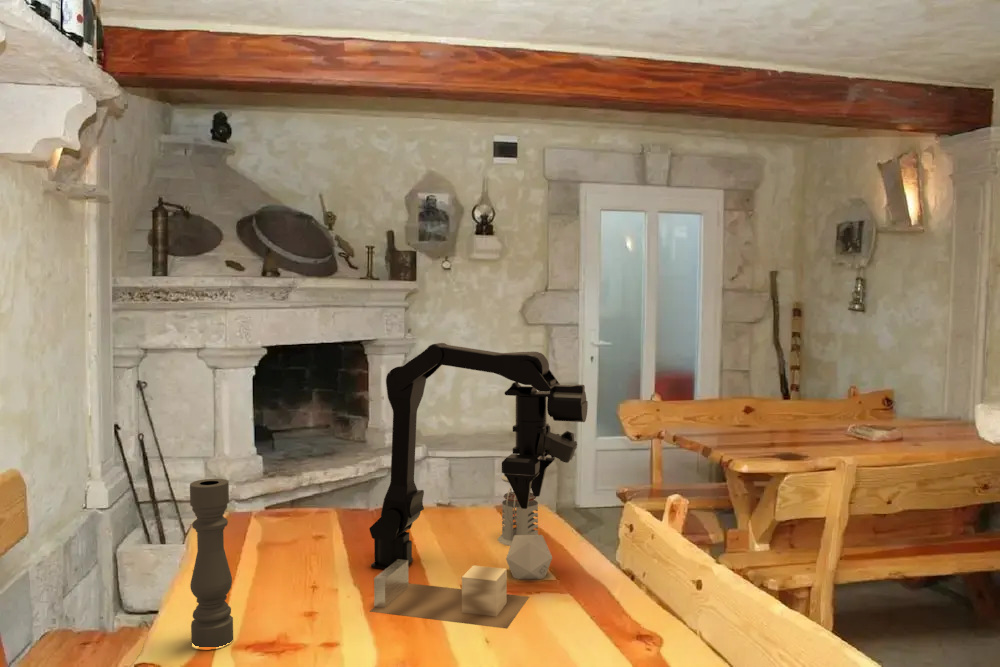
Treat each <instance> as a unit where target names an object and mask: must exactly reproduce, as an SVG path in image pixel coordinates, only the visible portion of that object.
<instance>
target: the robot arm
mask: <svg viewBox="0 0 1000 667" xmlns="http://www.w3.org/2000/svg"><path fill="white" fill-rule="evenodd" d="M441 366H447V367H453V368H459V369H460V368H461V369H466V370H473V371H479V372H484V373H491V374H496V375H499V376H501V377H503V378H505V379H507V380H510V381H512V383H511V385H510V387H509V388H508V389H507V390H505V391H504V395H505V396H512V397H513V396H514V397H515V424H514V425H513V426H512V432H515V446H514V447H513V448H512V453H511V454H510V455H508V456H507V457H505V459H504V460H502V462H501V474H503V475H505V477H507V479H508V481H509V485H510V486H511V487H510V488H511V490H513V491H512V492H514V493H515V495H516V498H517V500H518V502H519V504H520V506H521V508H522V509H527V508H528V502H529V496H530V492H531V493H533V495H534V496H536V498H537V497H540V495H541V492H542V488H543V483H544V479H545V475H546V471H547V468H548V467H549V466H550V465H551V464H552V463H553V462H554V461H555V460H556V459H558V460H560V462H562V463H566V464H567V463H570V461H572V459H573V458H574V454H575V451H576V449H577V447H578V441H575V436H574V434H575V433H573V432H572V431H569V430H566V431H565V432H562V434H561V435H560V434H559V433H553V432H551V426H550V424H549V423H547V414H548V416H549V417H550V418H552V419H553V421H556V422H572V423H573V422H575V423H585V422H586V420H587V417H588V407H589V406H588V405H589V403H588V400H587V395H586V391H585V389H586V388H585V387H586V386H585V384H575V385H570V384H569V385H567V384H560V382H559V381H558V379H557V378H556V377H555V375H554V373H553V372H552V371H551V370H550V364H549V361H548V359H547V357H546V356H545V355H544V354H543V353H541V352H539V351H515V352H514V351H512V352H495V351H490V350H484V349H483V350H482V349H477V348H469V347H466V346H465V347H463V346H458V345H451V344H447V343H445V342H438V343H433V344H430V345H428V347H426V349H425V350H423V351H422V352H421V353H420V354H418V355H417V356H414V358H412V359H411V360H409V361H407V362H406V363H405V364H403V365H400V366H396V367H394V368H391V370H390V371H389V372H388V373H387V375H386V378H385V385H386V387H385V388H386V392H387V399H388V402H389V404H390V407H391V410H392V430H391V431H392V432H391V433H392V434H391V437H392V438H391V459H390V460H391V461H390V464H391V466H390V481H389V482H390V483H389V486H388V488H387V491H386V493H385V495H384V498H383V504H382V507H381V512H380V517H379V519H377V520H376V521H375V522H373V524H372V525H371V526H370V527H369V532H370V536H371V538H372V539H373V540H374V543H373V544H374V562H372V563H371V564H370V568H375V569H384V570H385V569H386V568H387V567H389V566H390V565H391V564H393V563H394V562H395V561H396V560H398V559H401V560H408V565H410V564H411V562H413V560H414V558H413V551H412V550H413V542H412V540H411V539H410V532H409V531H408V530H410V529H412V527H413V523H414V522H415V521H417V520H418V518H419V517H420V515H421V512H422V511H423V510H424V509H425V507H424V505H423V500H424V495H425V492H424V491H425V490H424V489H420V490H419V489H418V488H417V485H416V483H415V466H416V465H415V463H416V445H417V444H416V442H417V441H416V440H417V439H416V438H417V437H416V436H417V417H418V416H417V414H418V410H419V409H418V408H419V406H420V404H421V401H422V398H423V396H424V392H425V387H426V383H427V379H428V378H429V377H431V376H432V375H434V374H435V373H436V372H437V371H438V370H439V369H440V368H441ZM549 456H550V457H549Z"/></svg>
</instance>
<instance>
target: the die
mask: <svg viewBox="0 0 1000 667" xmlns="http://www.w3.org/2000/svg"><path fill="white" fill-rule="evenodd" d="M507 552H508V553H507V554H506V558H505V560H506V562H507V565H508V568H509V571H510V572H511V575H512V578H514V579H518V580H541V579H544V578H546V576H547V573H548V570H549V568H550V565H551V563H552V560H553V556H552V553H551V551H550V549H549V547H548V545H547V542H546V540H545V537H544V536H543V534H538V535H514V538H513V541H512V544H511V546H509V550H508V551H507Z"/></svg>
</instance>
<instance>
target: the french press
mask: <svg viewBox="0 0 1000 667" xmlns="http://www.w3.org/2000/svg"><path fill="white" fill-rule="evenodd" d="M501 480H502V481H503V482H505V483H509V481H508V479H507V477H505V475H504V474H503V475H502V476H501ZM509 484H510V483H509ZM503 498H504V499H505V500H502V502H501V508H502V509H501V514H502V516H501V517H502V518H501V520H502V522H501V526H502V527H501V530H502V531H501V532H502V534H500V535H499V537H498V538H497V541H498V543H499V544H502V545H504V546H509V547H510V546H511V544H512V541H513V538H514V535H539V533H538V532H539V530H538V529H539V525H538V522H539V519H538V517H539V514H538V510H539V503H538V502H539V501H537V500H536V498H537V496H534V495H533V492H532V491H530V496H529V502H528V508H527V509H522V508H521V506H520V504H519V502H518V500H517V498H516V495H515V493H514V491H512V487H509V489H508V492H506V493H504V494H503ZM534 511H536V512H534ZM535 523H536V524H535ZM514 526H516V527H514Z"/></svg>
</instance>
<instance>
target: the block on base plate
mask: <svg viewBox="0 0 1000 667" xmlns="http://www.w3.org/2000/svg"><path fill="white" fill-rule="evenodd" d="M373 582H374V584H373V587H374V590H373V592H374V593H373V594H374V600H373V601H374V602H373V603H374V604H373V607H372V608H371V609H369V612H370V613H379V614H385V615H386V614H387V615H393V616H401V617H410V618H418V619H427V620H434V621H442V622H443V621H444V622H451V623H458V624H467V625H476V626H483V627H490V628H491V627H492V628H500V629H508V628H509V627H510V625H511V624H512V623H513V621H514V619H515V618H516V617H517V615H518V614H519V613H520V611H521V610H522V608H523V607H524V605H525V604H526V602H527V601H528V600H529V598H530V596H527V595H517V594H509V593H507V603H506V605H505V606H504V607H503V609H502V610H501V611H500V612H499V614H498V615H497V616H488V615H479V614H471V613H463V612H462V588H454V587H447V586H446V587H445V586H436V585H430V584H429V585H427V584H420V583H419V584H417V583H409V564H408V560H401V559H398V560H396V561H395V562H394V563H393V564H391V565H390V566H389V567H387V568H386V569H384V570H382V571H381V572H379V573H378V574H377V575H375V577H374V578H373Z"/></svg>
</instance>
